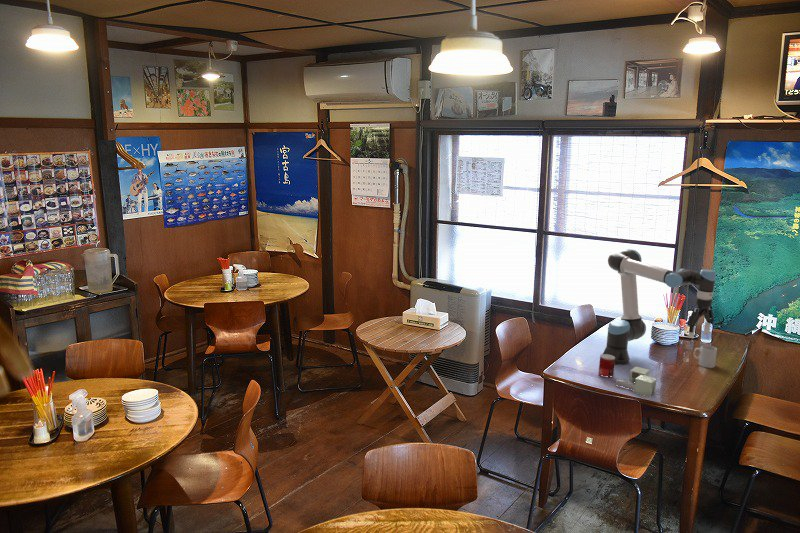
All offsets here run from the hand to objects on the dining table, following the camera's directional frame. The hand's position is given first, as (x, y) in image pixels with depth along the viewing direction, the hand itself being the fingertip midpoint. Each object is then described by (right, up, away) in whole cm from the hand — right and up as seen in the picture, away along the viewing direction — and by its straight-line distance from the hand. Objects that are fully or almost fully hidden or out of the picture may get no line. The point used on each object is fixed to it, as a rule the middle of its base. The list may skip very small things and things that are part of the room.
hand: (698, 335), depth 339 cm
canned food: (-49, -23, +5) cm, 54 cm away
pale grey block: (-41, -27, -14) cm, 51 cm away
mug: (+15, -20, +26) cm, 36 cm away
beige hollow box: (-35, -25, -6) cm, 43 cm away
